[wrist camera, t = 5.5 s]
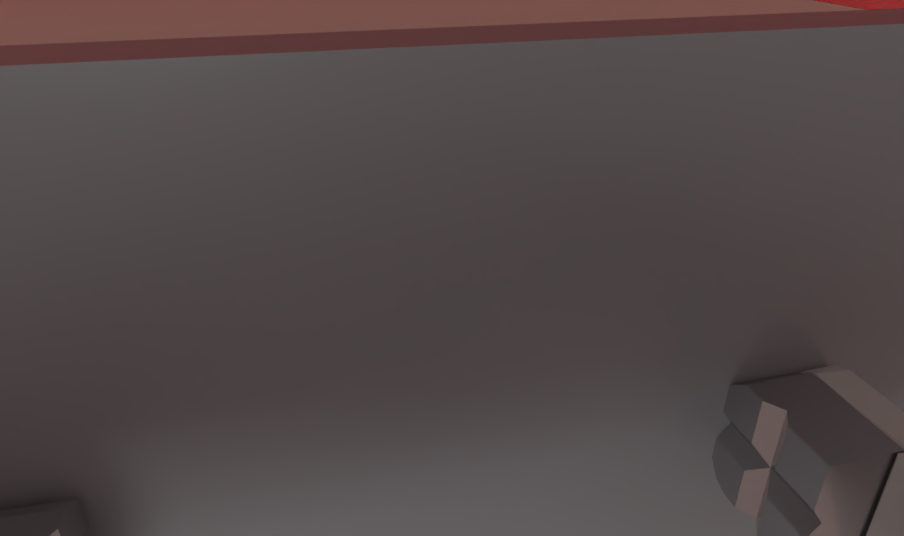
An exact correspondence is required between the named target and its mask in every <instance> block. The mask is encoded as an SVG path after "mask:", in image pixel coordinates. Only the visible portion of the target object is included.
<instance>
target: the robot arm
mask: <svg viewBox="0 0 904 536" xmlns="http://www.w3.org/2000/svg"><path fill="white" fill-rule="evenodd" d="M723 412H724V414H725V415H726V417H727V418H728V420H729V421H730V424H729V425H728V426H727V427H726V428H725V429H724V430H723V431H722V432H721V433H720V434H719V435H718V437H717V438H716V441H715V446H714V450H713V454H712V460H713V465H714V471H715V476H716V479H717V481H718V483H719V485H720V487H721V489H722V491H723V493H724V494H725V495H726V497H727V498H728V499H729V501H730V502H731V503H732V505H733V506H734V507H735V508H736V509H738V510H740V511H742V512H744V513H746V514H748V515H750V516H752V517H753V518H755V519H756V529H757V536H904V412H903V411H902V410H901V409H899V408H898V407H897V406H895V405H894V404H893V403H892V402H890V401H889V400H888V399H886V398H885V397H884V396H883V395H881V394H880V393H879V392H878V391H876V390H875V389H874V388H872V387H871V386H870V385H869V384H867V383H866V382H865V381H863V380H862V379H861V378H860V377H858V376H857V375H856V374H854V373H853V372H852V371H851V370H849V369H846V368H843V367H840V366H838V365H833V366H827V367H822V368H817V369H812V370H806V371H802V372H800V373H793V374H787V375H782V376H777V377H771V378H766V379H760V380H755V381H749V382H744V383H738V384H733V385H732V386H731V387H730V389H729V390H728V394H727V398H726V402H725V405H724V409H723ZM88 527H89V523H88V521H87V518H86V516H85V513H84V511H83V508H82V506H81V504H80V502H77V501H74V500H65V501H59V502H52V503H46V504H39V505H32V506H26V507H19V508H13V509H6V510H0V536H86V534H87V530H88Z"/></svg>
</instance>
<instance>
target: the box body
mask: <svg viewBox="0 0 904 536" xmlns="http://www.w3.org/2000/svg"><path fill="white" fill-rule="evenodd" d="M852 10H866V9H860V8H854V7H848V6H843V5H837V4H831V3H825V2H819V1H813V0H0V46H5V45H30V44H54V43H78V42H102V41H126V40H151V39H175V38H199V37H223V36H247V35H272V34H296V33H320V32H344V31H368V30H393V29H417V28H441V27H465V26H489V25H514V24H538V23H562V22H586V21H610V20H635V19H659V18H683V17H707V16H731V15H756V14H780V13H804V12H828V11H852Z"/></svg>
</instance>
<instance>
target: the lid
mask: <svg viewBox="0 0 904 536" xmlns="http://www.w3.org/2000/svg"><path fill="white" fill-rule="evenodd" d="M833 365H838V366H840V367H843V368H846V369H849V370H851V371H852V372H853V373H854V374H856V375H857V376H858V377H860V378H861V379H862V380H863V381H865V382H866V383H867V384H869V385H870V386H871V387H872V388H874V389H875V390H876V391H878V392H879V393H880V394H881V395H883V396H884V397H885V398H886V399H888V400H889V401H890V402H892V403H893V404H894V405H895V406H897V407H898V408H899V409H901V410H902V411H903V412H904V8H901V9H877V10H852V11H828V12H804V13H780V14H756V15H731V16H707V17H683V18H659V19H635V20H610V21H586V22H562V23H538V24H514V25H489V26H465V27H441V28H417V29H393V30H368V31H344V32H320V33H296V34H272V35H247V36H223V37H199V38H175V39H151V40H126V41H102V42H78V43H54V44H30V45H5V46H0V510H6V509H13V508H19V507H26V506H32V505H39V504H46V503H52V502H59V501H65V500H74V501H77V502H80V504H81V506H82V508H83V511H84V513H85V516H86V518H87V521H88V523H89V527H88V530H87V534H86V536H757V529H756V519H755V518H753V517H752V516H750V515H748V514H746V513H744V512H742V511H740V510H738V509H736V508H735V507H734V506H733V505H732V503H731V502H730V501H729V499H728V498H727V497H726V495H725V494H724V493H723V491H722V489H721V487H720V485H719V483H718V481H717V479H716V476H715V471H714V465H713V460H712V454H713V450H714V446H715V441H716V438H717V437H718V435H719V434H720V433H721V432H722V431H723V430H724V429H725V428H726V427H727V426H728V425H729V424H730V421H729V420H728V418H727V417H726V415H725V414H724V412H723V409H724V405H725V402H726V398H727V394H728V390H729V389H730V387H731V386H732V385H733V384H738V383H744V382H749V381H755V380H760V379H766V378H771V377H777V376H782V375H787V374H793V373H800V372H802V371H806V370H812V369H817V368H822V367H827V366H833Z"/></svg>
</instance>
